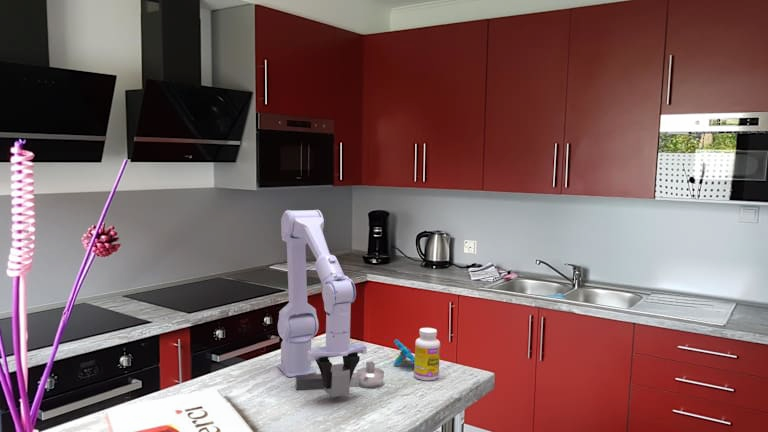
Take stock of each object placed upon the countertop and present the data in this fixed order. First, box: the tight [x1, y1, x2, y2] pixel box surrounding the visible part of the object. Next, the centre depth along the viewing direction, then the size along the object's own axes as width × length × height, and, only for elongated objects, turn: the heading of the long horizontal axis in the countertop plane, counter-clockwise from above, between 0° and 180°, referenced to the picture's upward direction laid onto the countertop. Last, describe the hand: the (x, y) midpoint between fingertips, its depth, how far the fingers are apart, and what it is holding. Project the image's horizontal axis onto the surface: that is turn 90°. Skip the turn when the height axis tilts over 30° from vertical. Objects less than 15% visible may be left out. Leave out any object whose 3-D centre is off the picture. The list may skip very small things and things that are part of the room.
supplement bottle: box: [413, 327, 441, 381], centre depth 156 cm, size 7×7×13 cm
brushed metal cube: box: [323, 363, 351, 398], centre depth 139 cm, size 5×5×6 cm
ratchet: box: [295, 360, 385, 391], centre depth 148 cm, size 10×22×6 cm, turn 118°
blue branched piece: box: [393, 339, 415, 367], centre depth 165 cm, size 11×6×10 cm
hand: (336, 385), depth 140 cm, fingers closed on brushed metal cube, 5 cm apart
